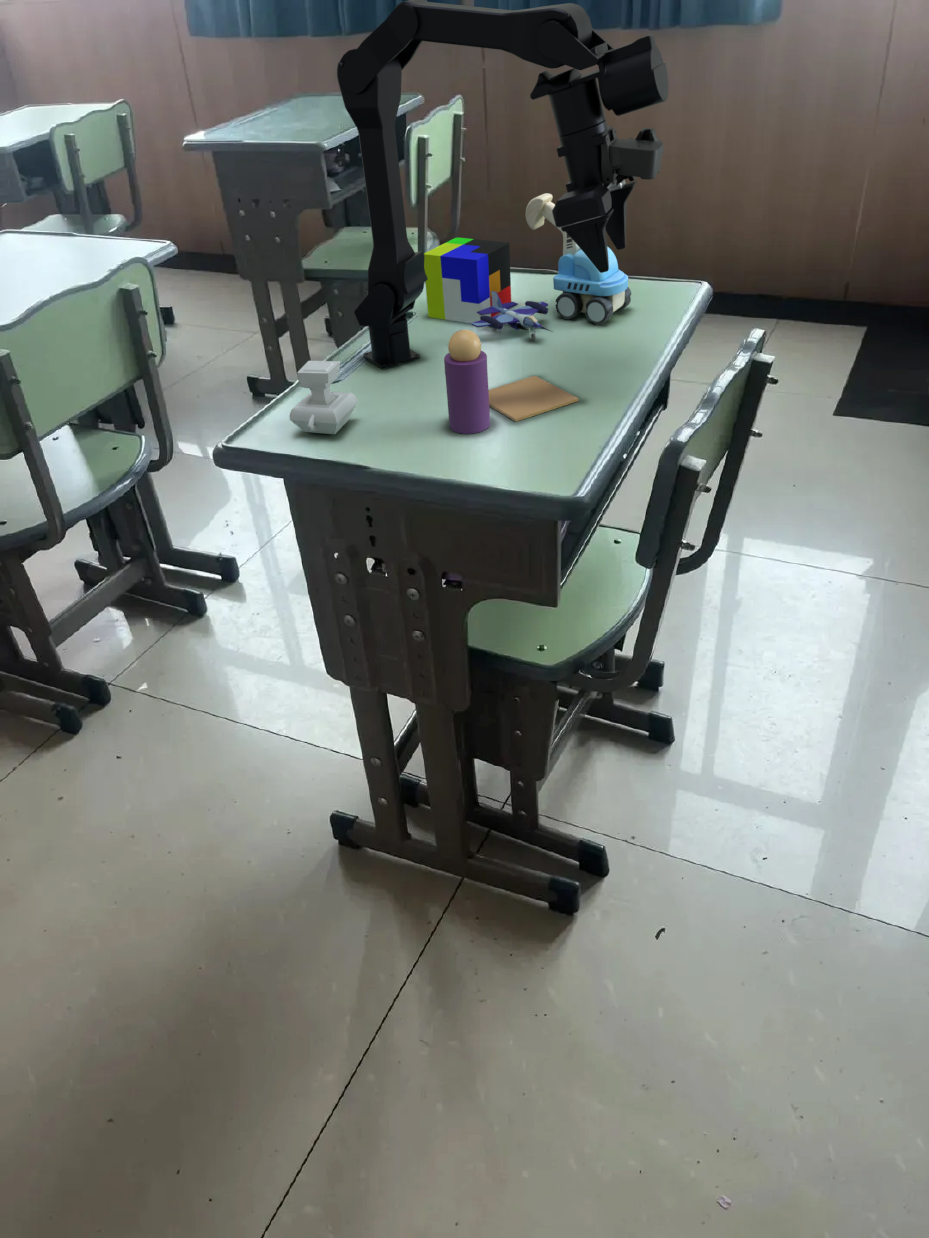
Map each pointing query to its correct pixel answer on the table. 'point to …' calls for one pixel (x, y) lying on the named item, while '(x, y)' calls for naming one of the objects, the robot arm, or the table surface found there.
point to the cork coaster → (528, 398)
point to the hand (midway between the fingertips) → (613, 260)
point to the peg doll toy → (467, 384)
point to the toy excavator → (581, 274)
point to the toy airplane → (512, 315)
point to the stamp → (322, 399)
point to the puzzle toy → (466, 278)
